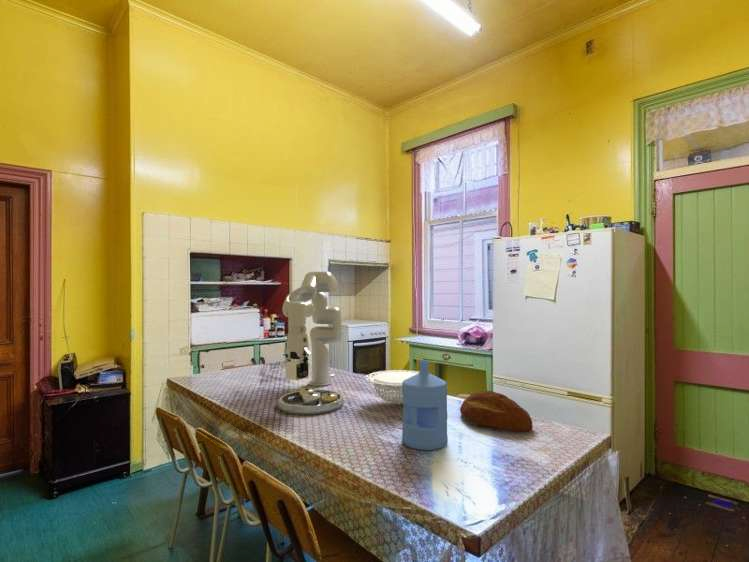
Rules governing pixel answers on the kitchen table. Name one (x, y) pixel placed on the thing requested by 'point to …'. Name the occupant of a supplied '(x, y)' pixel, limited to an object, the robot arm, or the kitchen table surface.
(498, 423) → the bread
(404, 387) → the water jug
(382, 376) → the colander
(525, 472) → the kitchen table surface
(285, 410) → the carrier
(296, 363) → the medicine bottle
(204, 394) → the kitchen table surface
